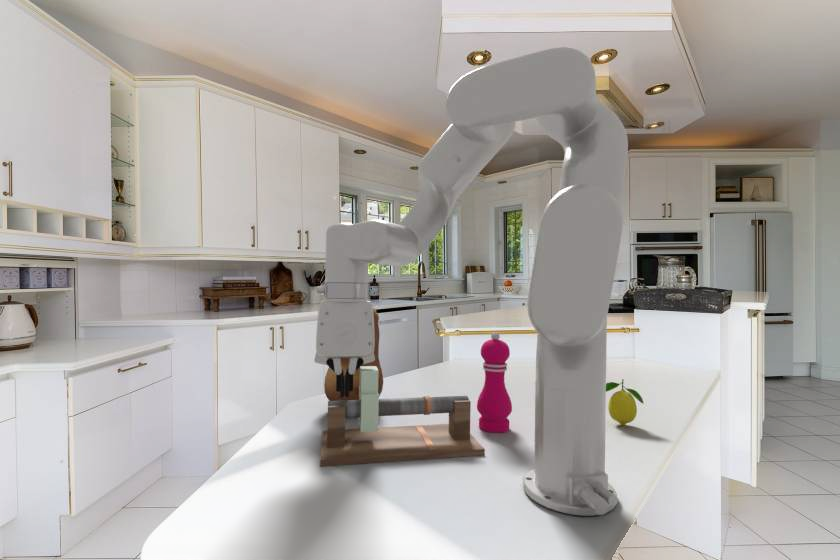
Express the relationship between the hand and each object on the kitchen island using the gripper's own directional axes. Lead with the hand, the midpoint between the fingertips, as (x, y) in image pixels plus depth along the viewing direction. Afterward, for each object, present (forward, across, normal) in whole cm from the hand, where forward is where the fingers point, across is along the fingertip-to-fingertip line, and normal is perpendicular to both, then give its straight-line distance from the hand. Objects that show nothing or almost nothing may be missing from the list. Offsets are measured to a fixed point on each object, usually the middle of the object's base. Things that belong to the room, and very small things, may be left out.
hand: (344, 395), depth 75 cm
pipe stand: (+10, +10, 0) cm, 14 cm away
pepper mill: (+10, +31, +6) cm, 33 cm away
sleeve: (+6, +4, 0) cm, 7 cm away
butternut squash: (+10, +3, +22) cm, 24 cm away
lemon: (+10, +59, +3) cm, 60 cm away
